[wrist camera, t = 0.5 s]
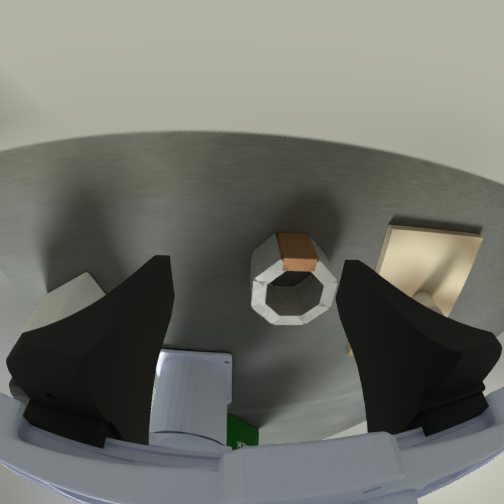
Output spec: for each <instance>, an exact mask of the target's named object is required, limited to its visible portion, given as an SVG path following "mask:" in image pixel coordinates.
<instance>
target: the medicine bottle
mask: <svg viewBox="0 0 504 504" xmlns="http://www.w3.org/2000/svg"><path fill="white" fill-rule="evenodd" d="M105 295H106V294H105V293H104V292H103V291H102V289H101V288H100V287H99V285H98V284H97V283H96V282H95V280H94V279H93V278H92V276H91V275H90V274H89V273H87V272H85V273H83V274H82V275H80V276H78V277H76V278H74V279H72V280H71V281H69V282H67V283H65V284H64V285H62V286H60V287H58V288H57V289H55V290H53V291H51V292H50V293H48V294H46V295H45V297H44V298H43V300H42V301H41V302H40V304H39V305H38V307H37V308H36V310H35V311H34V313H33V314H32V315H31V317H30V318H29V320H28V321H27V323H26V324H25V326H24V328H23V329H22V331H21V332H20V334H19V335H18V337H17V339H16V340H15V344H16V342H17V340H18V339H19V337H20V336H21V334H22V333H24V332H27V331H31V330H34V329H37V328H40V327H43V326H46V325H49V324H51V323H54V322H56V321H59V320H61V319H64V318H66V317H68V316H70V315H72V314H74V313H76V312H78V311H80V310H82V309H83V308H85V307H87V306H89V305H91V304H92V303H94V302H96V301H97V300H99V299H100V298H102V297H103V296H105ZM9 388H10V392H11V394H12V396H13V397H14V399H17V400H19V401H21V402H22V403H24V404H25V405H26V406H27V405H28V402H29V400H30V399H29V398H28V396H27V395H26V394H25V393H24V391H23V390H22V389H21V388H20V386H19V385H18V384H17V382H16V381H15V380H14V378H13V377H12V379H11V381H10V383H9Z"/></svg>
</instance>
